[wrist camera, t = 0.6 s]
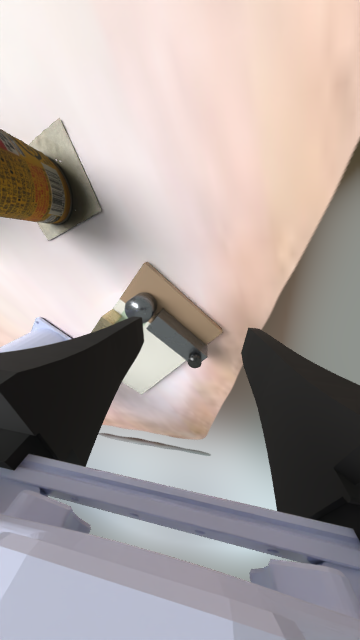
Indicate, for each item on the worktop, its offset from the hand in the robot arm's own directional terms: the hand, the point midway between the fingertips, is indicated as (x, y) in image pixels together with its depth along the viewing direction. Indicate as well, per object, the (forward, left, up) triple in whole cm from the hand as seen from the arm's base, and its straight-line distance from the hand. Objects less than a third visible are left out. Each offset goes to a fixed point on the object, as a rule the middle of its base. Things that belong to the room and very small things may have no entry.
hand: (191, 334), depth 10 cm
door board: (-11, +1, -10) cm, 15 cm away
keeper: (-11, +6, -9) cm, 16 cm away
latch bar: (-5, 0, -8) cm, 10 cm away
